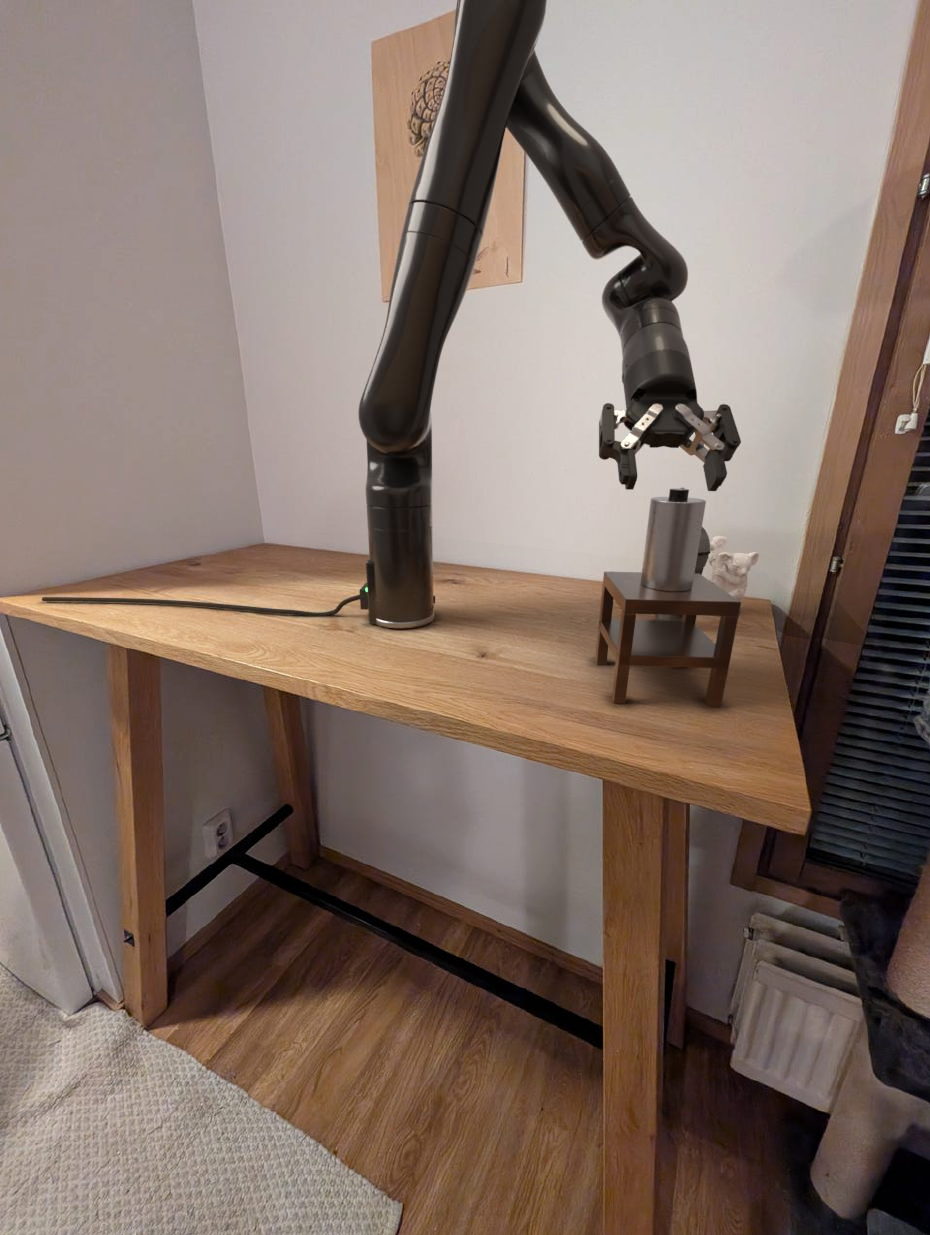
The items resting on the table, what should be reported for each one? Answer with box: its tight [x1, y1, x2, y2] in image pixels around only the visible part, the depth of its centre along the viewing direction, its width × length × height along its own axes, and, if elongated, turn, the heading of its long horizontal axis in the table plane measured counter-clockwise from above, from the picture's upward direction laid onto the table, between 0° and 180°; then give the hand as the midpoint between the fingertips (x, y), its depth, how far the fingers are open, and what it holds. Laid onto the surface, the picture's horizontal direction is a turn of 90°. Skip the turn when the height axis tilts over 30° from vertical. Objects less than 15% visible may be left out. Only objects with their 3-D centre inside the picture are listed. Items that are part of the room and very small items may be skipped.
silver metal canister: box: [641, 488, 707, 592], centre depth 54 cm, size 5×5×10 cm
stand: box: [594, 571, 742, 708], centre depth 57 cm, size 11×11×12 cm
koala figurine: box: [708, 534, 760, 601], centre depth 81 cm, size 8×7×12 cm
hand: (673, 485), depth 53 cm, fingers open, 8 cm apart
